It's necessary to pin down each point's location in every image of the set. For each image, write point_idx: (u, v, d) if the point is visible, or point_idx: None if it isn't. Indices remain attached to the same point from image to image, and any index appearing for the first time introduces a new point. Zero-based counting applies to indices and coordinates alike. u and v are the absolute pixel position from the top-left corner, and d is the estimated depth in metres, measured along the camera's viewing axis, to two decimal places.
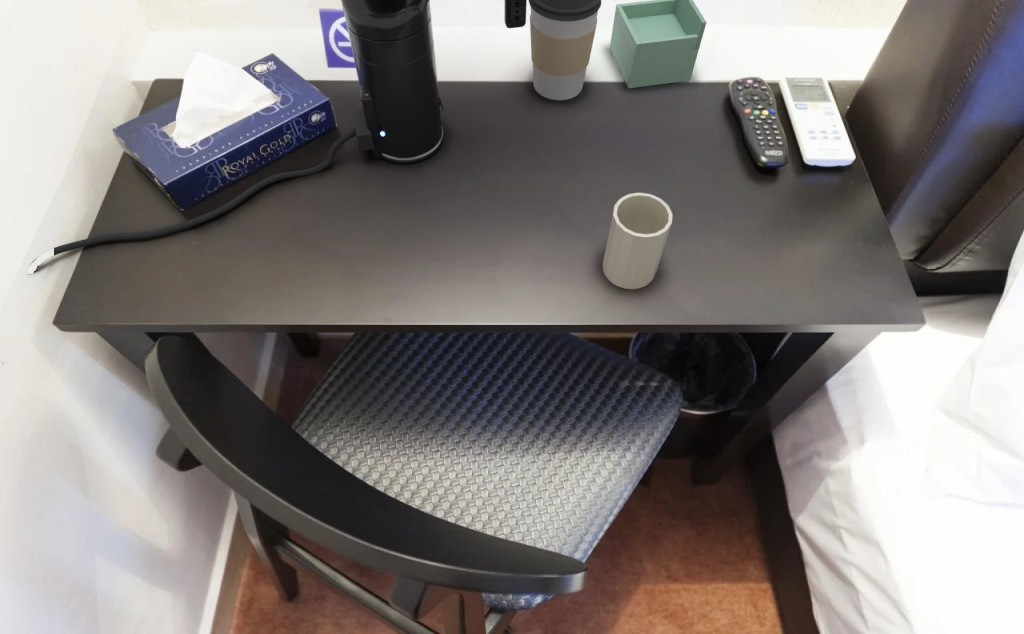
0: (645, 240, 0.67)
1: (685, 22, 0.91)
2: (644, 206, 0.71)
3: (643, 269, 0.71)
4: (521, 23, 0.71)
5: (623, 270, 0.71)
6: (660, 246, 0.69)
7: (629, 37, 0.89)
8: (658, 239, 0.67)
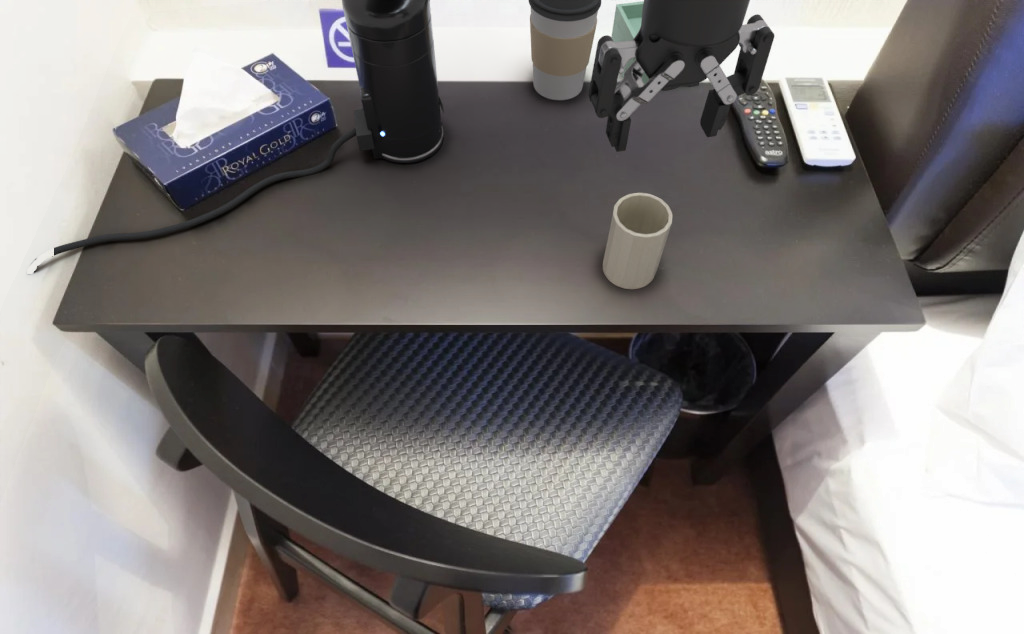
0: (645, 240, 0.67)
1: None
2: (644, 206, 0.71)
3: (643, 269, 0.71)
4: (610, 143, 0.59)
5: (623, 270, 0.71)
6: (660, 246, 0.69)
7: (629, 37, 0.89)
8: (658, 239, 0.67)
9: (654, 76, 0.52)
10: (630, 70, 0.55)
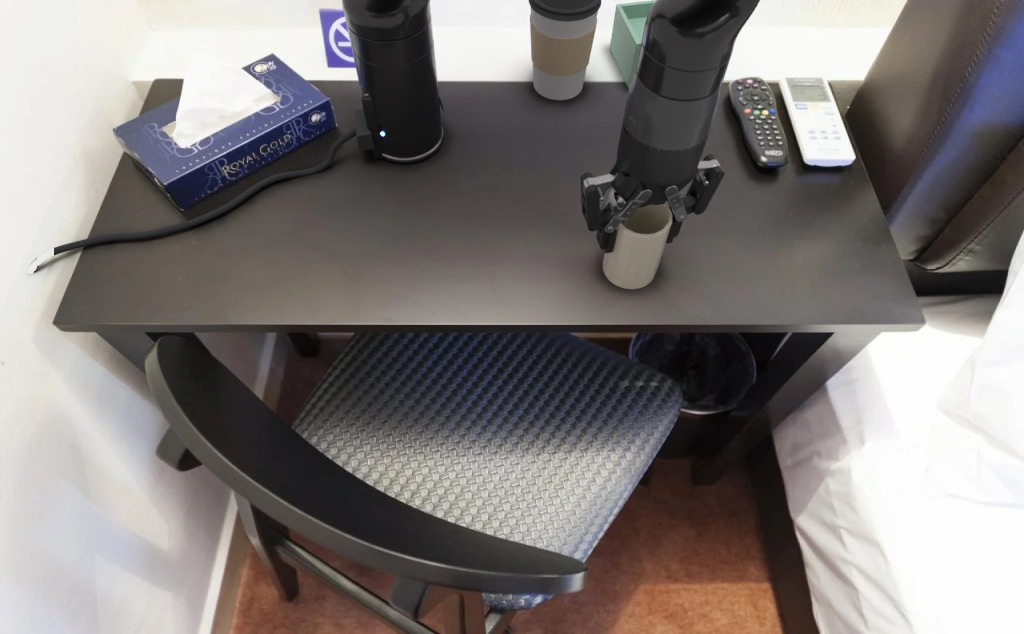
0: (645, 240, 0.67)
1: None
2: None
3: (643, 269, 0.71)
4: None
5: (623, 270, 0.71)
6: (660, 246, 0.69)
7: (629, 37, 0.89)
8: (658, 239, 0.67)
9: (628, 201, 0.64)
10: (612, 192, 0.66)
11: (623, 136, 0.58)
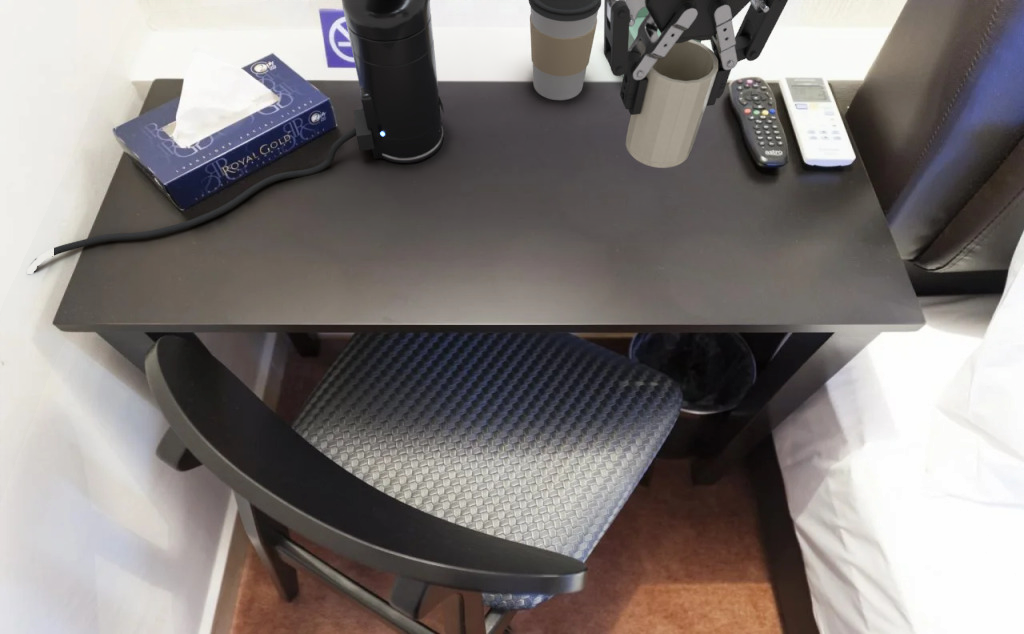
0: (684, 89, 0.52)
1: None
2: (680, 57, 0.56)
3: (678, 137, 0.57)
4: (624, 105, 0.56)
5: (653, 139, 0.57)
6: (702, 102, 0.54)
7: (629, 37, 0.89)
8: (700, 89, 0.53)
9: (666, 28, 0.49)
10: (643, 25, 0.52)
11: None
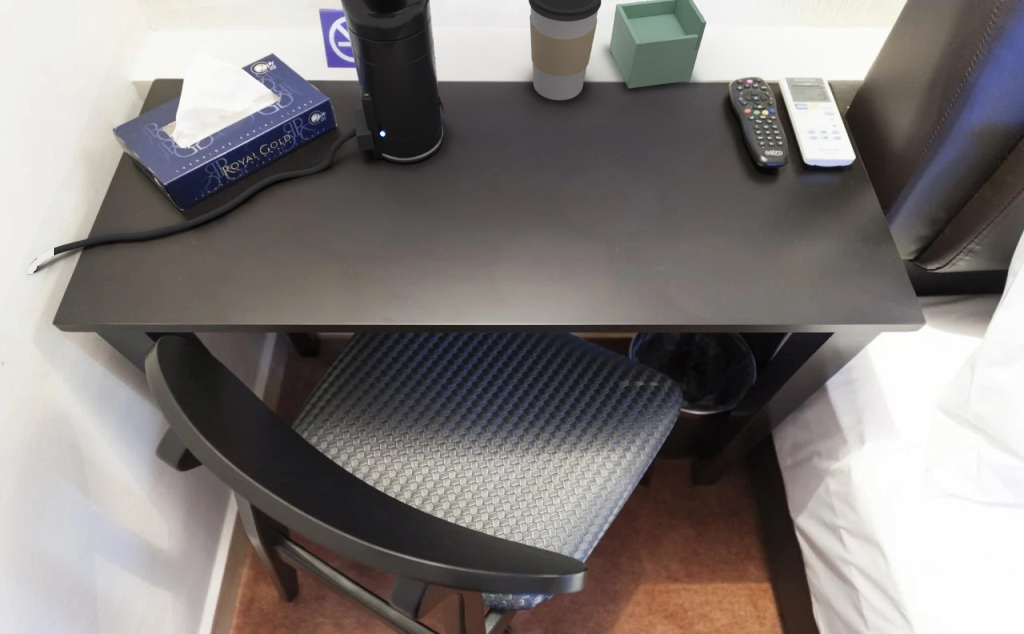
0: None
1: (685, 22, 0.91)
2: None
3: None
4: None
5: None
6: None
7: (629, 37, 0.89)
8: None
9: None
10: None
11: None
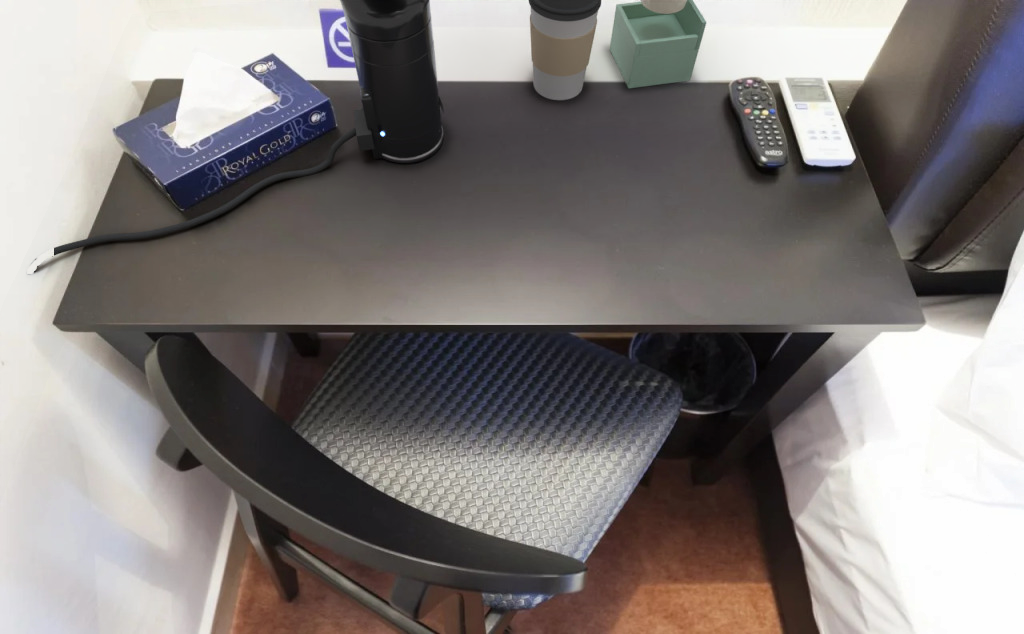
0: None
1: (685, 22, 0.91)
2: None
3: None
4: None
5: None
6: None
7: (629, 37, 0.89)
8: None
9: None
10: None
11: None
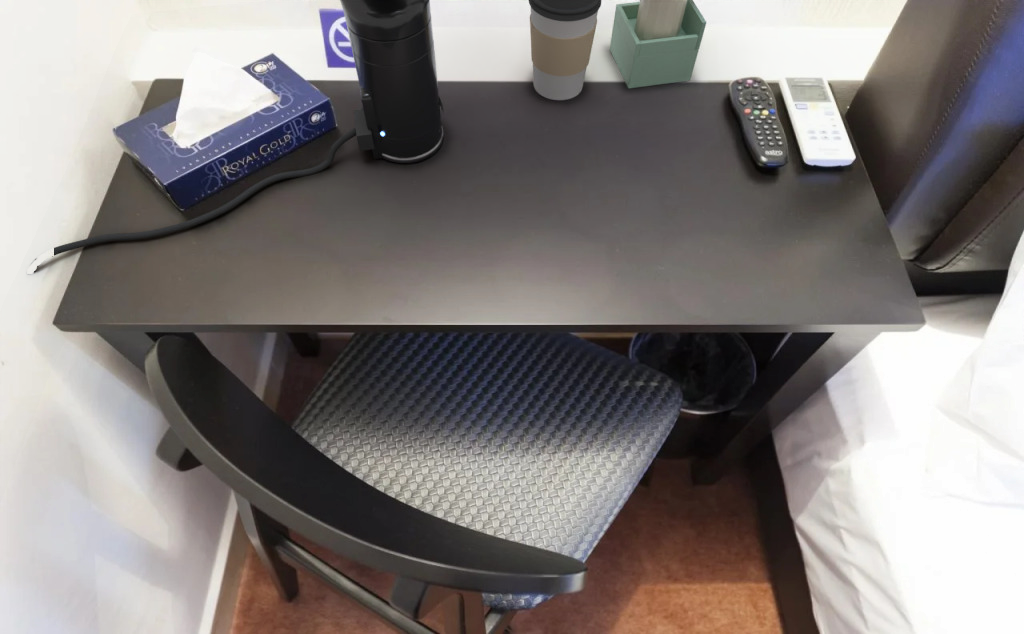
0: None
1: (685, 22, 0.91)
2: None
3: (669, 22, 0.87)
4: None
5: (653, 24, 0.88)
6: None
7: (629, 37, 0.89)
8: None
9: None
10: None
11: None
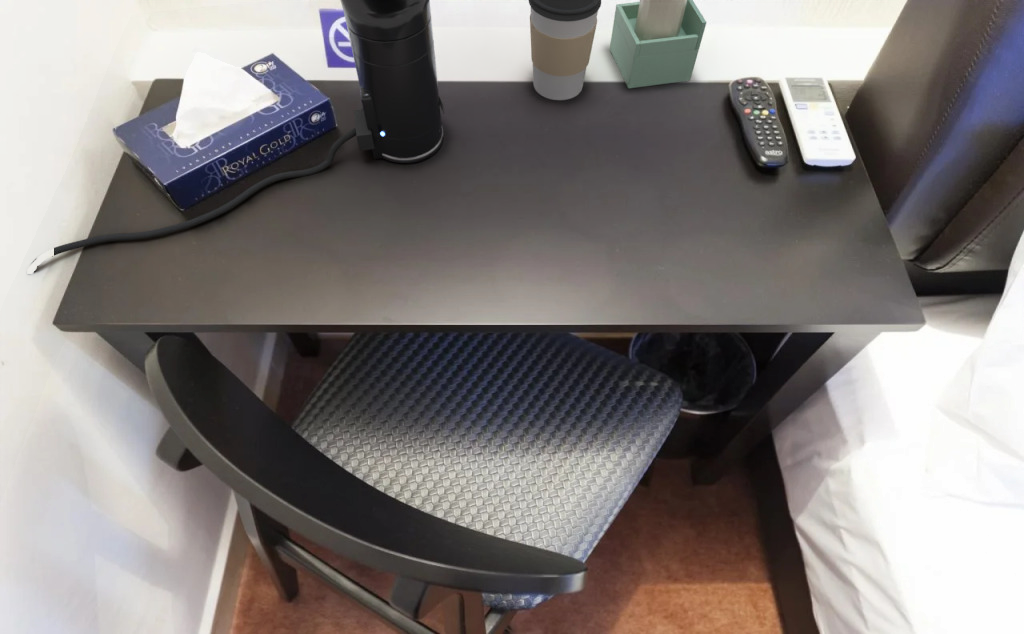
0: None
1: (685, 22, 0.91)
2: None
3: (669, 22, 0.87)
4: None
5: (653, 24, 0.88)
6: None
7: (629, 37, 0.89)
8: None
9: None
10: None
11: None
